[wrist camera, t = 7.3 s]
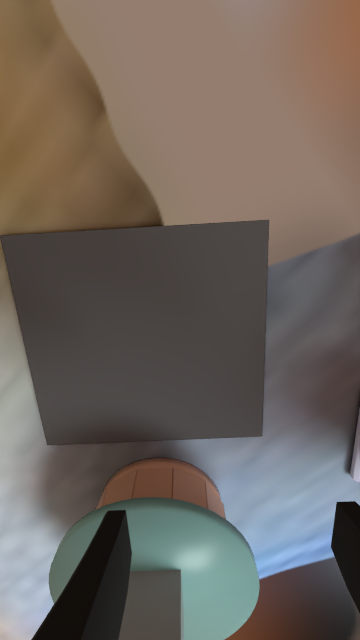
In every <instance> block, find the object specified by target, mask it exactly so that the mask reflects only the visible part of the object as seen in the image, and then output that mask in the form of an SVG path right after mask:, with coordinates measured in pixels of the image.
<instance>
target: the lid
mask: <svg viewBox="0 0 360 640" xmlns="http://www.w3.org/2000/svg"><path fill="white" fill-rule="evenodd" d="M110 510H126V515H127V522H128V529H129V536H130V543H131V550H132V558H131V567H130V576H129V584H128V593H127V598H126V604H125V609H124V614H123V619H122V624H121V629H120V634H119V639H118V640H224V639H226V638H227V637H229V636H230V635H231V634H233V633H234V632H235V631H237V630H238V629H239V628H240V627H241V626H242V625H243V624H244V623H245V622H246V620H247V619H248V618H249V616H250V615H251V613H252V611H253V609H254V608H255V605H256V602H257V599H258V594H259V577H258V572H257V568H256V564H255V560H254V556H253V553H252V550H251V548H250V546H249V544H248V542H247V541H246V539H245V538H244V536H243V535H242V534H241V533H240V532H239V531H238V530H237V528H236V527H235V526H233V525H232V524H231V523H230V522H229V521H227V520H226V519H225V518H223V517H221V516H220V515H218V514H217V513H215V512H213V511H211V510H209V509H207V508H204V507H202V506H199V505H196V504H193V503H190V502H186V501H182V500H178V499H171V498H162V497H143V498H132V499H127V500H122V501H117V502H114V503H111V504H108V505H105V506H103V507H100V508H98V509H96V510H94V511H92V512H90V513H89V514H87V515H86V516H84V517H82V518H81V519H80V520H79V521H78V522H76V523H75V524H74V525H73V526H72V527H71V528H70V529H69V530H68V532H67V533H66V534H65V536H64V537H63V539H62V540H61V542H60V545H59V547H58V550H57V552H56V554H55V557H54V559H53V562H52V564H51V568H50V573H49V587H50V593H51V596H52V599H53V602H54V604H55V602H56V601H57V599H58V598H59V596H60V594H61V593H62V591H63V590H64V588H65V586H66V585H67V583H68V581H69V579H70V578H71V576H72V574H73V573H74V571H75V569H76V567H77V566H78V564H79V562H80V561H81V559H82V557H83V555H84V553H85V552H86V550H87V548H88V546H89V544H90V543H91V541H92V539H93V537H94V535H95V533H96V531H97V529H98V527H99V525H100V524H101V522H102V519H103V517H104V515H105V513H106V512H107V511H110Z"/></svg>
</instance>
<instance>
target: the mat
mask: <svg viewBox="0 0 360 640" xmlns="http://www.w3.org/2000/svg"><path fill="white" fill-rule="evenodd" d="M0 238H1V243H2V247H3V251H4V256H5V260H6V265H7V269H8V274H9V278H10V283H11V287H12V291H13V296H14V300H15V305H16V309H17V314H18V318H19V323H20V327H21V331H22V336H23V340H24V345H25V349H26V354H27V358H28V363H29V367H30V371H31V376H32V380H33V385H34V389H35V394H36V398H37V402H38V407H39V411H40V416H41V420H42V425H43V429H44V434H45V438H46V442H47V445H68V444H92V443H115V442H139V441H163V440H187V439H210V438H234V437H258V436H262V427H263V396H264V365H265V333H266V302H267V271H268V239H269V220H258V221H241V222H224V223H208V224H190V225H174V226H156V227H139V228H122V229H105V230H88V231H71V232H54V233H37V234H20V235H3V236H0Z"/></svg>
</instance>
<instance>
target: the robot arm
mask: <svg viewBox="0 0 360 640" xmlns="http://www.w3.org/2000/svg"><path fill="white" fill-rule="evenodd" d="M350 476H351V477H352V478H353V480H354V481H356V482H360V409H359V416H358V423H357V430H356V437H355V444H354V451H353V458H352V465H351V472H350ZM331 548H332V550H333V553H334V556H335V558H336V561H337V563H338V566H339V568H340V571H341V573H342V576H343V578H344V581H345V583H346V586H347V588H348V590H349V592H350V594H351V596H352V598H353V600H354V602H355V604H356V606H357V608H358V610H359V613H360V506H359V505H358V504H357V503H356V502H355V501H353V502H337V504H336V512H335V520H334V528H333V535H332V543H331ZM131 558H132V550H131V543H130V536H129V529H128V522H127V515H126V510H110V511H107V512H106V513H105V515H104V517H103V519H102V522H101V524H100V525H99V527H98V529H97V531H96V533H95V535H94V537H93V539H92V541H91V543H90V544H89V546H88V548H87V550H86V552H85V553H84V555H83V557H82V559H81V561H80V562H79V564H78V566H77V567H76V569H75V571H74V573H73V574H72V576H71V578H70V579H69V581H68V583H67V585H66V586H65V588H64V590H63V591H62V593H61V594H60V596H59V598H58V599H57V601H56V602H55V604H54V605H53V607H52V609H51V610H50V612H49V613H48V615H47V617H46V618H45V620H44V621H43V623H42V624H41V626H40V628H39V629H38V631H37V632H36V634H35V635H34V637H33V638H32V640H118V639H119V634H120V629H121V624H122V619H123V614H124V609H125V604H126V598H127V593H128V584H129V576H130V567H131Z"/></svg>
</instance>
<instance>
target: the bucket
mask: <svg viewBox="0 0 360 640" xmlns="http://www.w3.org/2000/svg"><path fill="white" fill-rule="evenodd" d="M143 497H162V498H171V499H178V500H182V501H186V502H190V503H193V504H196V505H199V506H202V507H204V508H207V509H209V510H211V511H213V512H215V513H217V514H218V515H220V516H221V517H223V518H225V512H224V506H223V503H222V502H221V497H220V494H219V491H218V489H217V487H216V485H215V484H214V482H213V481H212V480H211V479H210V478H209V477H208V476H207V475H206V474H205V473H204V472H203V471H201V470H200V469H198V468H197V467H195V466H193V465H191V464H188V463H186V462H183V461H179V460H175V459H169V458H151V459H145V460H140V461H137V462H134V463H131V464H129V465H127V466H125V467H124V468H122V469H120V470H119V471H118V472H117V473H115V474H114V475H113V476H112V477H111V478H110V480H109V481H108V483H107V484H106V486H105V488H104V490H103V493H102V496H101V499H100V501H99V503H98V505H97V507H96V509H98V508H100V507H103V506H105V505H108V504H111V503H114V502H117V501H122V500H127V499H132V498H143ZM96 509H95V510H96ZM225 519H226V518H225Z"/></svg>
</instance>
